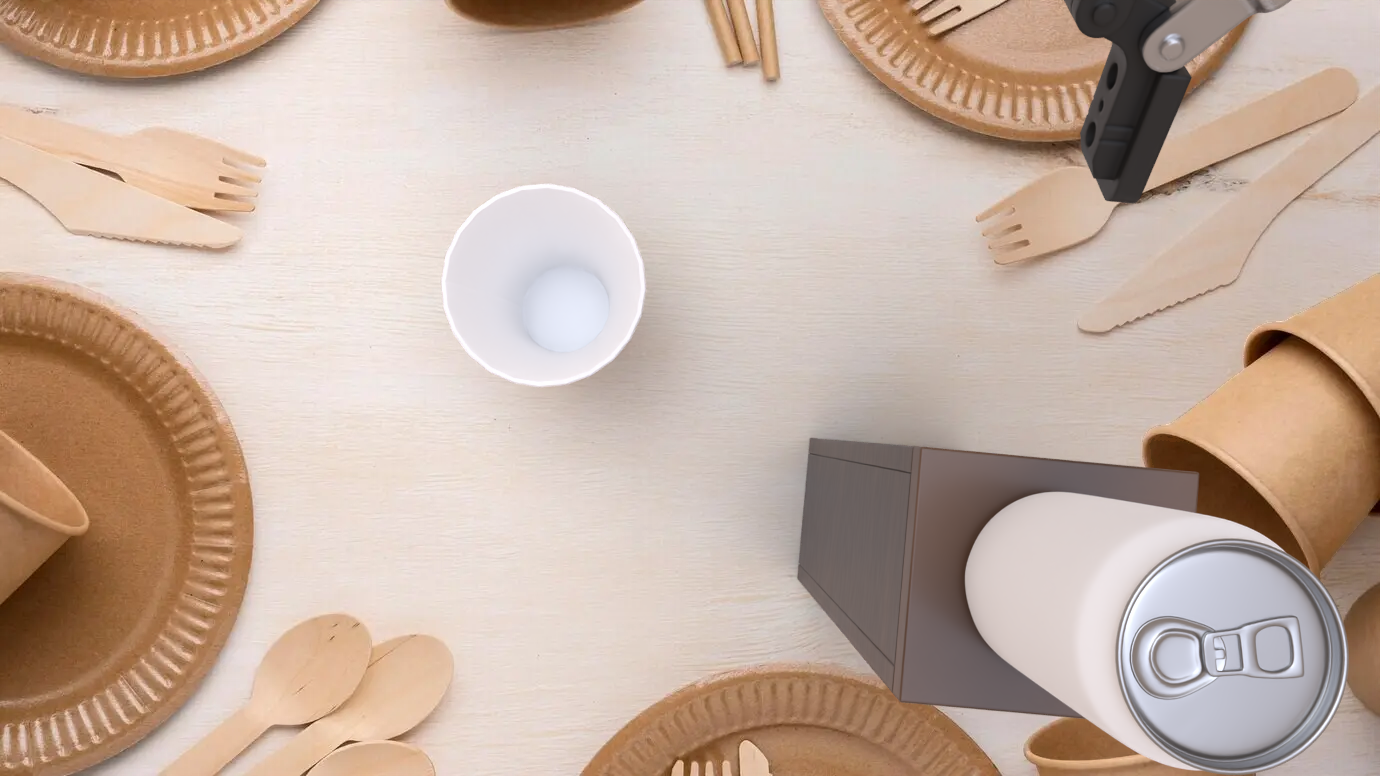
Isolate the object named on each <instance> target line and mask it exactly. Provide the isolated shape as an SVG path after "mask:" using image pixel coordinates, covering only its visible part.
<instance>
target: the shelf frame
mask: <svg viewBox="0 0 1380 776" xmlns="http://www.w3.org/2000/svg"><path fill="white" fill-rule="evenodd" d="M915 446H916V445H908V444H894V443H882V442H869V441H857V440H856V441H855V440H844V439H843V440H842V439H830V438H829V439H828V438H817V437H810V438H809V443H808V454H807V464H806V475H805V476H806V478H805V486H804V487H805V488H804V498H803V508H802V509H803V510H802V520H801V532H800V542H799V543H800V546H799V555H798V566H797V568H798V569H797V580H798V581H799V583H800V584H801V585H802V586H803V587H804V589H805V590H806V592H808V594H809V595H810V596H811V597H812V598H813V600H814V601H815V602H816V603H817V604H818V605H819V607H820V608H821V609H822V610H823V612H824V613H825V614H826V616H828V618H829V619H830V620H831V622H833V623H834V625H835V626H836V627H837V628H838V630H839V631H840V632H841V633H842V634H843V636H844V637H845V638H846V639H847V640H848V641H849V643H850V644H851V645H852V646H853V648H854V649H855V650H856V651H857V653H858V654H859V655H860V656H861V657H862V658H863V660H864V661H865V662H866V664H867V665H868V666H869V667H870V669H871V670H872V671H873V672H874V673H875V674H876V675H877V677H878V678H879V679H880V681H882V683H883V684H884V685H885V686H886V687H887V689H888V690H889V691H890V692H891V693H892V694H893V684H894V672H895V660H896V648H897V636H898V625H899V613H900V601H901V589H902V577H903V565H904V554H905V542H906V530H907V518H908V506H909V495H910V483H911V471H912V459H913V448H914V447H915Z"/></svg>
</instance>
